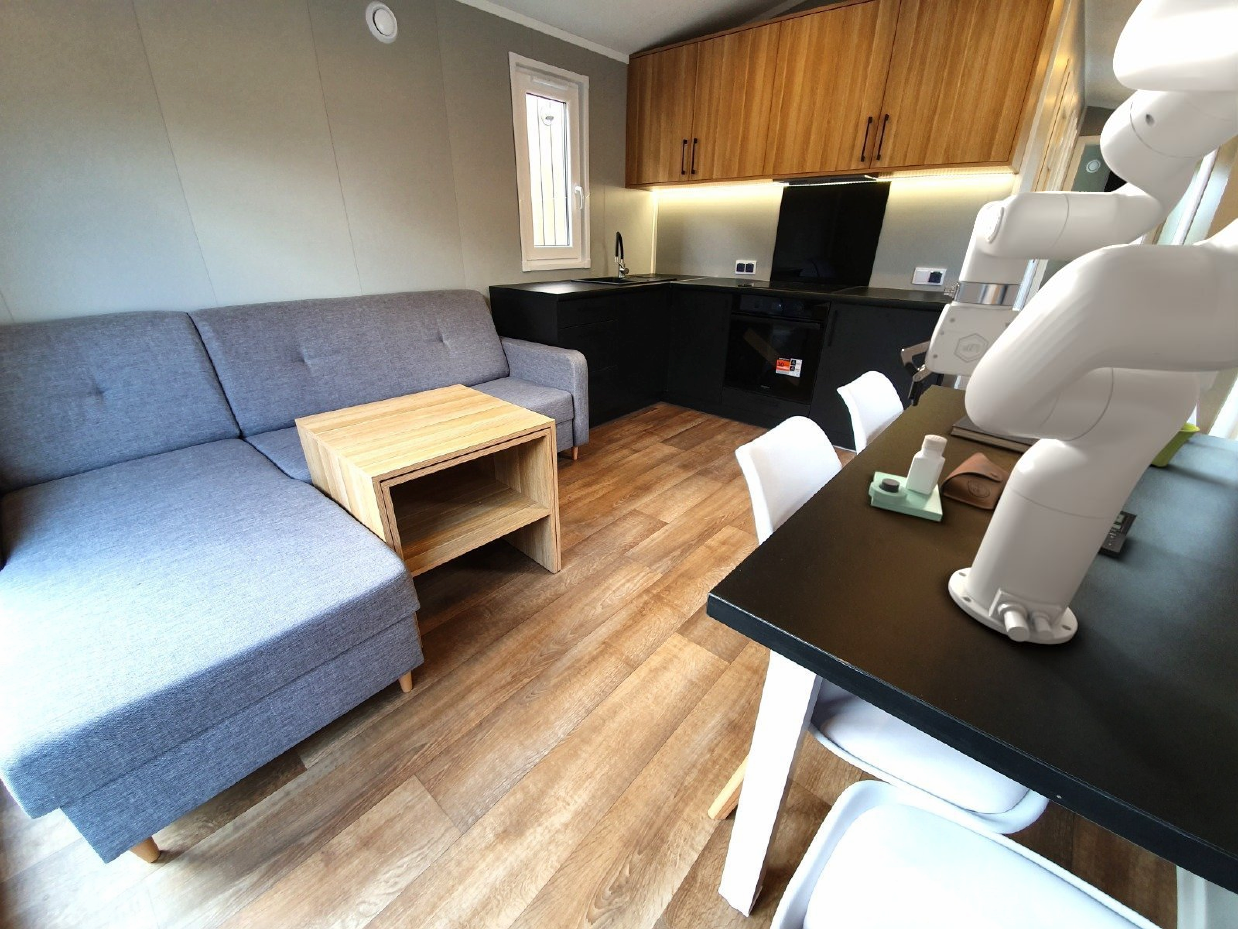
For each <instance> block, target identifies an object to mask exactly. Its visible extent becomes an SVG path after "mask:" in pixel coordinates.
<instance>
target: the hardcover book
mask: <svg viewBox="0 0 1238 929" xmlns="http://www.w3.org/2000/svg"><path fill="white" fill-rule="evenodd" d="M951 427H952V428H953V429H952V431H951V432H949V435H950V436H954V437H958V438H961V439H964V440H969V441H973V442H977V443H980V444H984V445H988V446H992V447H996V448H1000V449H1004V450H1007V451H1012V452H1015V453H1019V454H1022V455H1024V453H1025V452H1027V451H1028V450H1029V449H1030V448H1031V447H1032V446H1033V445H1034V444H1035V443H1037V442H1038V441H1039V440H1040V439H1038V438H1026V437H1015V436H1006V435H1000V434H995V433H991V432H988V431H986V430H983V429H981V428H980V427H978V426H977V425H976V424H975V423H974V422H973V421H972V420H971V419H970V417H969V416H968V414H967V413H966V415H964V416H963V417H961V418H960V419H959V420H958V421H956V422H955V423H954V424H953V425H951Z"/></svg>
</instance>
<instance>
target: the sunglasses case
mask: <svg viewBox="0 0 1238 929" xmlns="http://www.w3.org/2000/svg"><path fill="white" fill-rule="evenodd" d="M1010 475H1011V473H1009V472H1008V471H1007V470H1004V469H1003V468H1001V467H1000V466H998V465H997V464H995V463H993V462H992V461H990V459H989V458H987V456H986V455H985V454H984V453H982V452H976V453H974V454H973V455H971V456H970V457H969V458H967V459H966V460H965V461H963V462H962V463H961V464H959V466H957V468H955V469H954V470H953V471H952V472H951V473H950V474H949V475H948V476H947V477H946V478H945V480H944V481H943V482H942V483H941V485H940V491H941V493H942V495H943V496H945V497H947V498H949V499H952V500H956V501H958V502H961V503H964V504H968V505H970V506H974V507H977V508H980V509H985V510H993V509H994V508H995V506H996V503H997V501H998V499H999V498H1000V497H1001V496H1002V493H1003V491H1004V489H1005V486H1006V484H1007V482H1008V480H1009V477H1010Z"/></svg>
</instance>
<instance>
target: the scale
mask: <svg viewBox="0 0 1238 929" xmlns="http://www.w3.org/2000/svg"><path fill="white" fill-rule="evenodd" d="M885 478H889V479H894V480H896V481H898V482H899V483H900V486H899V489H898V492H897V493H891V492H886V491H884V490H882V489H881V488H880V487H881V483H882V480H883V479H885ZM906 480H907V477H905V476H900V475H897V474H890V473H885V472H882V471H876V470H875V472H874V476H873V481H872V482H871V483H870V486H869V490H868V495H869V496H870V497H871V504H870V506H872V507H875V508H880V509H884V510H890V511H893V512H898V513H901V514H906V515H910V516H915V517H918V518H923V519H927V520H931V521H935V522H941V520H942V518H943V509H942V503H941V497H940V491H939V486H938V483H937V485H936V487H935V489H934V490H933V491H932V492H931V493H930V494H928V495H927V494H923V493H920V492H917V491H914V490H911V489H908V488H906V487H905V483H906Z"/></svg>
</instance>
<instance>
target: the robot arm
mask: <svg viewBox="0 0 1238 929" xmlns="http://www.w3.org/2000/svg"><path fill="white" fill-rule="evenodd" d="M1112 63H1113V72H1114V76H1115V78H1116V80H1117V81H1118V82H1119V83H1120V84H1121V85H1122V86H1124V87H1126V88H1128V89H1130V90H1136V91H1135V92H1134V93H1133V94H1132V95H1130V97H1129V98H1127V100H1125V101H1124V102H1123V103H1122V104H1121V105H1119V106H1118V107H1117V108H1116V109H1115V110H1114V111H1113V113H1112V114H1111V115H1110V116H1109V118H1108V119H1107V121H1105V123H1104V126H1103V128H1102V131H1101V134H1100V141H1099V142H1100V143H1099V145H1100V146H1099V147H1100V153H1101V155H1102V159H1103V161H1104V163H1105V164H1106V166H1108V168H1109V170H1111V171H1112V172H1113V173H1114V175H1116V176H1118V177H1119V178H1120V179H1122V180H1123V181H1125V182H1126V183H1125V184H1124V185H1122V186H1121V187H1119V188H1117V189H1116V190H1113V191H1111V192H1091V191H1090V192H1087V191H1085V192H1084V191H1081V192H1079V191H1023V192H1018V193H1014V194H1012V195H1010V196H1008V197H1006V198H1004V199H998V200H992V201H990V202H987V203H986V204H984V205H983V206H982V207H981V209H980V210H979V212H978V214H977V217H976V220H975V223H974V228H973V231H972V234H971V237H970V241H969V243H968V247H967V250H966V253H965V257H964V261H963V263H962V267H961V271H960V274H959V278H958V281H957V282H956V283H954V284H951V285H945V286H944V289H943V293H942V296H948V297H950V298H951V303H946V304H945V305H944V308H943V310H942V312H941V314H940V316H939V319H938V320H937V323H936V325H935V328H934V330H933V333H932V336H931V338H930V340H927V341H924V342H921V343H919V344H915V345H912V346H909V347H905V348H903V349H902V350H901V351H900V356H901V360H902V363H903V366H904V370H906V372H907V373H908V374H909V376H910V377H911V378H912V382H911V386H910V389H909V393H908V397H907V400H911V407H917V406H918V405H919V401H920V398H921V395H922V391H923V388H924V383H925V382H924V379H925V378H926V377H927V376H929V375H930V374H931V373H937V374H942V375H943V374H944V375H952V376H958V377H959V376H960V377H968V378H969V380H968V383H967V386H966V390H965V395H964V406H965V411H966V415H967V414H968V416H969V417H970V419H971V420H972V421H973V422H974V423H975V424H976V425H977V426H978V427H980V428H981V429H983V430H986V431H988V432H991V433H995V434H1000V435H1006V436H1015V437H1026V438H1038V439H1040V440H1039V441H1038V442H1037V443H1035V444H1034V445H1033V446H1032V447H1031V448H1030V449H1029V450H1028V451H1027V452H1025V453H1024V454H1022V456H1021V457H1020V458H1019V459H1018V460H1017V462H1016V463H1015V465H1014V467H1013V468H1012V471H1011V472H1010V474H1011V475H1010V477H1009V480H1008V482H1007V484H1006V486H1005V489H1004V491H1003V493H1002V494H1001V495H1000V497H999V498H1000V499H999V500H998V503H997V505H996V507H995V509H994V510H995V511H994V512H993V514H992V517H991V520H990V522H989V524H988V527H987V529H986V532H985V534H984V536H983V538H982V541H981V543H980V545H979V548H978V551H977V553H976V555H975V557H974V560H973V562H972V565H971V567H965V568H962V569H958V570H956V571H955V572H954V573H953V574H951V576H950V578H949V581H948V584H947V585H948V588H947V589H948V591H949V595H950V596H951V598H952V599H953V601H954V602H955V603H956V604H957V606H959V607H960V608H961V609H962V610H963V611H964V612H965V613H966V614H968V615H969V616H970V617H972V618H973V619H975V620H976V621H978V622H979V623H980V624H983V625H985V626H987V627H988V628H990V629H992V630H994V631H996V632H998V633H1001V634H1003V635H1006V636H1007V637H1009V638H1010V639H1011V640H1013V641H1016V642H1029V643H1035V644H1039V645H1040V644H1043V645H1044V644H1045V645H1056V644H1057V645H1058V644H1062V643H1066V642H1069V641H1070V640H1071V639H1072V638H1073V637H1074V635H1075V633H1076V632H1077V630H1078V627H1079V626H1078V621H1077V617H1076V616H1075V615H1074V612H1073V611H1072V610H1071V609H1070V608H1069V606H1070V604H1071V602H1072V600H1073V598H1074V596H1075V595H1076V593H1077V591H1078V589H1079V588H1080V585H1081V584H1082V582H1083V580H1084V578H1085V577H1086V575H1087V573H1088V571H1089V569H1090V567H1091V566H1092V564H1093V562H1094V561H1095V558H1096V556H1097V555H1098V554H1099V552H1098V551H1099V549H1100V547H1101V545H1102V544H1103V542H1104V540H1105V538H1106V536H1107V535H1108V533H1109V531H1110V529H1111V527H1112V525H1113V524H1114V522H1115V520H1116V518H1117V516H1118V515H1119V513H1120V512H1121V511H1123V508H1124V506H1125V504H1126V503H1127V501H1128V499H1129V498H1130V496H1131V494H1132V492H1133V491H1134V489H1135V487H1136V485H1137V484H1138V482H1139V481H1140V479H1141V477H1142V476H1143V474H1144V473H1145V471H1146V470H1147V469H1148V468H1149V466H1150V465H1152V464H1151V462H1152V461H1153V460H1154V458H1155V457H1156V456H1157V455H1158V454H1159V453H1160V451H1161V450H1162V449H1163V448H1164V447H1165V446H1166V445H1167V444H1168V443H1169V442H1170V441H1171V440H1172V439H1173V437H1174V436H1175V435H1176V434H1177V433H1178V432H1179V431H1180V430H1181V428H1182V427H1183V426H1184V425H1185V423H1186V422H1187V423H1188V421H1189V419H1190V417H1191V416H1192V415H1193V413H1194V411H1195V409H1196V407H1197V405H1198V402H1199V399H1200V398H1199V397H1200V394H1199V389H1200V388H1199V382H1198V378H1197V376H1196V374H1195V372H1213V371H1219V372H1222V371H1227V370H1232V369H1235V368H1238V217H1237V218H1235V219H1234V220H1233V221H1232V222H1230V223H1229V224H1228V225H1227V226H1225V227H1224V228H1222V229H1221V230H1220V231H1218V232H1217V233H1215V234H1214V235H1212V236H1211V237H1209V238H1207V239H1205V240H1201V241H1197V242H1194V243H1188V244H1152V243H1151V244H1150V243H1146V244H1145V243H1133V242H1135V241H1136V240H1138V239H1140V238H1142V237H1143V236H1145V235H1146V234H1148V233H1151V231H1153V230H1154V229H1155V228H1157V227H1158V226H1159V225H1161V224H1162V223H1163V222H1164V221H1166V219H1167V218H1168V217H1169V216H1170V215H1171V213H1172V212H1173V211H1174V210H1175V209H1176V207H1177V206H1178V205H1179V203H1180V202H1181V200H1182V199H1183V197H1184V196H1185V194H1186V192H1187V191H1188V190H1189V188H1190V185H1191V183H1192V181H1193V178H1194V175H1195V172H1196V167H1197V163H1198V162H1199V161H1201V160H1202V159H1204V158H1206V156H1208V155H1210V154H1211V153H1213V152H1214V151H1216V150H1217V149H1219V148H1220V147H1222V146H1223V145H1224V144H1226V143H1227V142H1229V141H1231V140H1232V139H1234V138H1235V137H1237V135H1238V0H1141V1H1140V2H1139V4H1138V5H1137V6H1136V8H1135V9H1134V11H1133V12H1132V14H1131V16H1130V17H1129V19H1128V20H1127V22H1126V24H1125V26H1124V28H1123V30H1122V32H1121V33H1120V35H1119V39H1118V41H1117V44H1116V46H1115V50H1114V55H1113V62H1112ZM1034 260H1044V261H1045V260H1046V261H1047V260H1048V261H1065V262H1066V261H1067V262H1068V261H1070V262H1069V263H1068V264H1066V265H1064V266H1063V267H1062V268H1061V269H1059V270H1058V271H1057V272H1056V273H1054V275H1053V276H1051V278H1049V279H1048V281H1047V282H1046V283H1045V284H1044V285H1043V286H1042V287H1041V288H1040V289H1039V290H1038V292H1037V293H1036V294H1035V295H1034V296H1033V297H1032V298H1031V300H1030V301H1029V302H1028V303H1027V305H1026V306H1025V307H1024V308H1023V309H1021V310H1022V311H1020V308H1019V309H1018V308H1014V307H1015V304H1016V302H1017V301H1016V300H1017V298H1018V295H1019V292H1020V289H1021V286H1022V283H1023V281H1024V278H1025V274H1026V272H1027V269H1028V266H1029V263H1030V261H1034ZM925 352H926V353H925ZM922 353H925V358H924V364H923V365H921V366H920V367H919V368H918V367H917V366H916V365H915V363H914V362H913V359H912V358H913V356H915V355H918V354H922Z"/></svg>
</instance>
